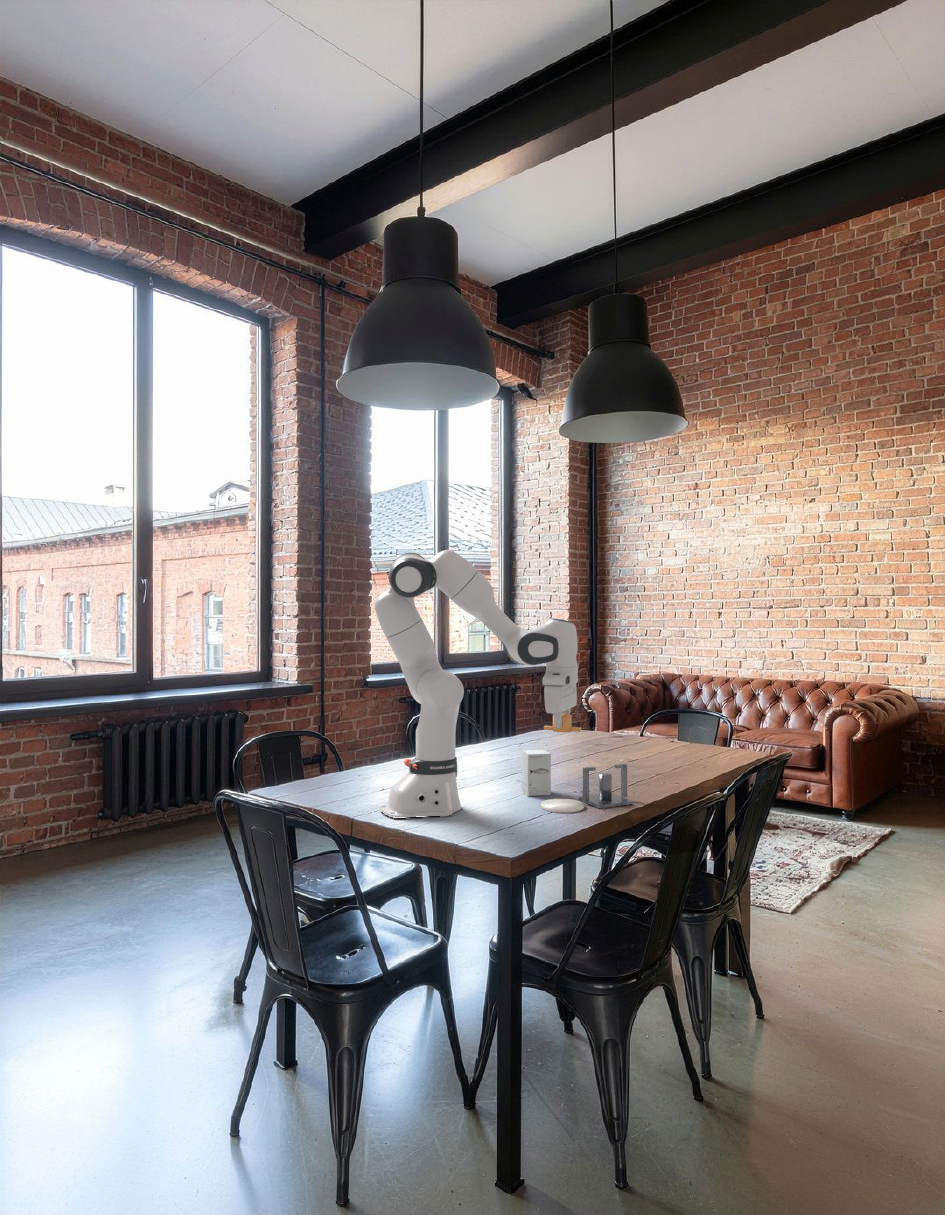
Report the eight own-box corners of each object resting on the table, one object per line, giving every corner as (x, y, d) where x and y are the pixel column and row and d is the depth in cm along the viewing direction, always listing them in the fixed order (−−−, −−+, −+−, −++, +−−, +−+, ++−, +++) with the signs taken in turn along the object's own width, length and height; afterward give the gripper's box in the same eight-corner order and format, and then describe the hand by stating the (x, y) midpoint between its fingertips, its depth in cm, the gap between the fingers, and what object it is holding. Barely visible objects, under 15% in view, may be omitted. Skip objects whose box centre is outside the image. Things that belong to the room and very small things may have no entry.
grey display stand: (594, 809, 217) (594, 771, 217) (574, 800, 227) (574, 764, 227) (637, 804, 222) (636, 767, 222) (615, 796, 232) (615, 760, 232)
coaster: (554, 814, 211) (554, 811, 211) (533, 804, 222) (533, 801, 222) (592, 810, 216) (592, 806, 216) (570, 800, 227) (570, 797, 227)
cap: (541, 731, 219) (541, 715, 219) (546, 728, 224) (546, 713, 224) (578, 733, 215) (578, 717, 215) (582, 730, 220) (582, 714, 220)
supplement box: (527, 797, 232) (527, 754, 232) (521, 791, 239) (520, 749, 239) (551, 795, 233) (551, 753, 233) (544, 790, 240) (544, 749, 241)
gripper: (561, 673, 230) (561, 720, 230) (540, 679, 211) (540, 730, 211) (582, 674, 228) (582, 721, 228) (563, 680, 209) (563, 731, 209)
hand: (562, 726), depth 219 cm, fingers closed on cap, 5 cm apart
